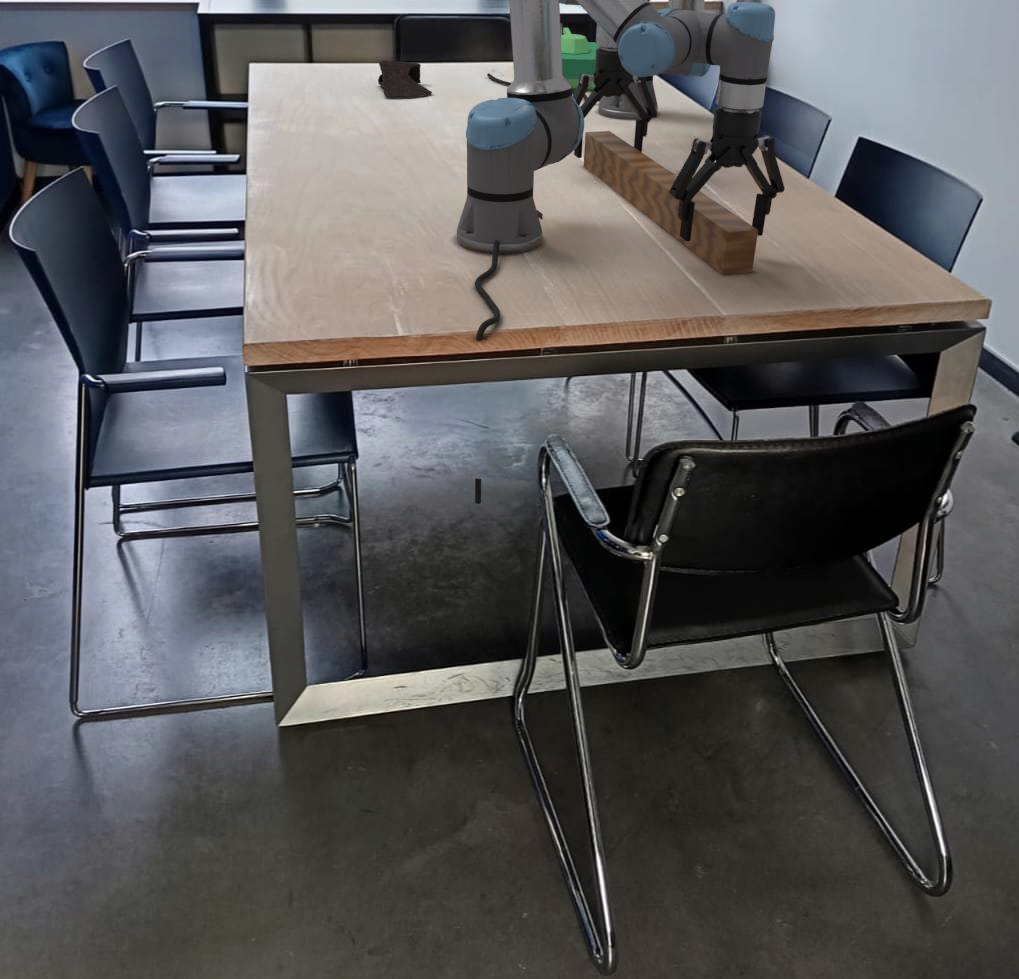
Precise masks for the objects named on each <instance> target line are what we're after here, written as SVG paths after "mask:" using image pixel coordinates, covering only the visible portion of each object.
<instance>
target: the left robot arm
mask: <svg viewBox="0 0 1019 979" xmlns="http://www.w3.org/2000/svg"><path fill="white" fill-rule="evenodd" d="M576 1H577V2H578V3H579V4H580V5H579V6H580V7H581V8H582V9H583V10H584V12H586V13H587V14H588V15H589V16H590V17H591V19H592V20H594V22H595V23H596V25H597V24H598V25H599V26H600V27H601V28H602V29H603V30H604V31H605V32H606V33H607V34H608V35H609V36H610V38H611V39H612V40H613V41H614V42H615V43H616V44H617V45H618V54H619V58H620V61H621V64H622V66H623V67H624V69H625V70H626V71H627V72H629V73H630V74H632V75H634V76H638V77H647V76H653V77H655V76H659V75H661V74H663V72H664V71H666V70H668V69H670V68H674V67H677V66H680V65H683V64H685V63H688V62H693V63H702V64H710V66H717V67H718V66H719V74H718V83H717V89H716V90H717V91H716V98H715V104H716V105H717V107H716V108H715V109H714V113H713V121H712V136H711V137H710V140H702V139H700V138H698V137H695V138H694V139H693V141H692V145H691V149H690V153H689V154H688V155H687V156H688V157H687V158H686V160H685V162H684V163H683V166H682V167H681V169H680V171H679V172H678V174H677V175H676V176H677V178H676V180H675V181H674V183H673V185H672V187H671V189H670V191H669V194H670V195H671V196H673V197H674V198H676V199H679V208H678V218H679V219H680V220H681V229H680V237H681V238H683V239H684V240H685V241H690V240H691V232H692V223H693V215H694V207H695V203H694V202H693V201H691V200H692V199H693V197H694V196H695V195H696V194H697V193H698V192H699V191H700V190H701V189H702V188H703V187H704V186H705V185H706V184H707V183H708V181H709V180H710V179H711V178H712V177H713V176H714V175H715V173H716V172H718V171H720V170H721V168H725V169H731V168H733V167H736V168H743V166H744V167H745V168H746V170H747V171H748V173H749V175H750V176H751V178H752V179H753V181H754V182H755V184H756V185H757V187H758V188H759V190H760V192H761V193H756V197H755V203H754V209H753V210H754V211H753V216H752V223H751V225H752V226H753V227H755V228H756V229H758V235H757V237H760V236H763V234H764V233H763V232H764V227H765V222H766V216H769V215H770V213H771V209H772V203H773V199H776V197H777V195H778V193H780V194H782V193H784V191H785V184H784V181H783V177H782V174H781V171H780V167H779V163H778V160H777V157H776V153H775V145H776V144H775V142H776V141H775V139H774V138H773V137H771V136H769V135H767V134H763V135H762V136H761V137H758V134H759V132H760V129H761V128H760V127H761V121H762V114H763V113H762V111H761V109H762V108H763V107H764V102H765V95H766V86H767V81H768V80H767V79H768V72H769V65H770V60H771V56H772V55H771V54H772V48H773V42H774V38H775V35H774V33H775V24H776V23H775V21H776V11H775V9H774V7H773V6H771V5H770V4H767V3H762V2H756V1H755V2H753V1H752V2H750V1H735V2H732V3H730V4H729V5H728V6H727V11H726V12H725V13H724V14H718V13H710V12H706V13H704V12H696V11H689V10H684V9H681V8H677V9H668V8H661V9H660V10H657V9H656V8H655V7H654V6H653V5H652V4H651V3H650V1H649V2H648V1H647V0H576ZM508 2H509V4H508V5H509V16H510V17H509V18H510V32H511V33H510V34H511V48H512V64H513V80H512V81H511V82H510V83H511V84H510V86H508V87H507V88H506V97H499V98H496V99H487V100H484V101H482V102H479V103H477V104H475V105H474V106H473V107H471V109H470V111H469V113H468V115H467V122H466V129H465V130H466V131H465V138H466V192H467V193H466V198H465V202H464V205H463V209H462V211H461V214H460V218H459V220H458V224H457V227H456V241H457V243H458V244H459V245H461V246H462V247H464V248H466V249H468V250H470V251H475V252H479V253H486V254H491V265H490V267H489V268H488V269H487V270H486V271H484V272H483V273H482V274H480V275H478V276H477V278H476V279H475V281H474V287H475V290H476V291H477V293H478V294H479V295H480V297H481V298H483V300H484V301H485V303H486V304H487V306H488V308H490V310H491V311H492V313H493V317H490V318H488V319H486V320H484V321H483V322H481V324H480V325H479V327H478V330H477V331H476V332H477V333H476V337H475V341H476V342H482V341H483V339H484V334H485V331H486V330H487V328H489V327H490V326H493V325H495V324H497V323H498V322H499V321H500V319H501V312H500V309H499V307H498V306H497V305H496V303H495V302H494V300H493V299H492V298H491V296H490V295H489V293H488V292H487V291H486V290H485V288H483V286H482V283H483V282H484V281H485V280H487V279H488V278H489V277H491V276H492V275H493V274H494V273H495V272H496V270H497V267H498V263H499V254H500V255H506V254H507V255H508V254H517V253H524V252H527V251H530V250H533V249H536V248H538V247H539V246H540V245H541V244H542V243H543V229H542V224H541V221H543V217H544V214H543V212H541V211H539V209H537V206H536V204H535V199H534V184H535V181H534V180H535V171H538V170H540V169H542V168H545V167H547V166H551V165H553V164H555V163H559V162H561V161H562V160H564V159H566V158H567V157H568V156H570V155H571V154H572V153H574V150H575V149H576V148H577V146H578V145H579V143H580V141H581V139H582V136H583V137H584V132H585V118H584V116H583V112H582V110H581V104H580V105H578V104H577V103H576V100H575V99H574V98H573V94H572V91H573V89H572V85H571V83H570V82H569V81H568V80H566V79H565V78H564V77H563V71H562V50H561V35H562V31H561V30H562V29H561V12H560V9H561V8H560V7H561V6H560V3H559V0H508ZM757 149H759V150H760V152H761V156H762V160H763V163H764V166H765V170H766V173H767V178H768V179H767V178H766V175H765V174H764V173H763V171H762V169H761V168H760V166H759V165H758V162H757V160H756V159H755V157H754V155H753V154H755V152H756V150H757ZM708 151H710V154H709V155H708V156H707V158H705V160H704V163H703V164H702V166H701V167H700V165H701V163H702V161H703V158H704V157H705V155H707V154H708ZM699 167H700V168H699ZM698 168H699V169H698ZM768 180H769V181H768ZM540 220H541V221H540ZM474 504H476V505H479V504H482V479H481V478H475V479H474Z"/></svg>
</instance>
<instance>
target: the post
mask: <svg viewBox="0 0 1019 979" xmlns="http://www.w3.org/2000/svg"><path fill="white" fill-rule="evenodd" d="M584 132H585V134H584V136H585V137H584V150H583V168H585V169H586V170H587V171H589V172H590V173H591V174H592V175H594V176H595V177H597V178H598V179H599V180H600V181H602V182H603V183H604V184H605V185H607V187H609V188H610V189H612V190H613V191H614V192H616V193H617V194H618V195H620V196H621V197H622V198H623V199H625V200H626V201H627V202H628V203H629V204H631V205H632V206H634V208H636V209H638V210H639V211H640V212H641V213H642V214H644V215H645V216H646V217H648V218H649V220H652V221H653V222H654V223H655V224H657V225H658V226H659V227H660V228H662V229H663V230H664V231H665V232H667V233H668V234H670V235H671V236H672V237H674V238H675V239H676V240H677V241H678V242H680V243H681V244H682V245H683V246H685V247H686V248H687V249H689V250H690V251H691V252H693V253H694V254H695V255H696V256H698V257H699V258H700V259H702V260H703V261H704V262H706V264H708V265H709V266H711V267H712V268H713V269H714V270H716V271H717V272H718V273H719V274H721V275H722V276H724V275H735V274H736V275H737V274H746V273H753V269H754V262H755V255H756V248H757V242H758V229H756V228H755V227H753V226H752V224H750V223H749V222H747V221H746V220H744V219H743V218H742V217H740V216H739V215H736V213H733V212H732V211H731V210H729V209H728V208H726V207H725V206H723V205H721V204H720V203H719V202H717V201H716V200H714V199H713V198H711V197H709V196H708V195H707V194H705V193H704V192H702V191H700V190H699V192H698V193H697V194H696V195H695V196H694V197H693V199H692V200H691V201H693V202H694V203H695V207H694V215H693V223H692V232H691V240H690V241H685V240H684V239H683V238H681V237H680V229H681V220H680V219H679V218H678V208H679V199H676V198H674V197H673V196H671V195H670V194H669V191H670V189H671V187H672V185H673V183H674V181H675V180H676V178H677V176H678V175H677V174H675V173H673V172H672V171H670V170H669V169H668V168H666V167H664V166H663V165H661V164H660V163H658V162H657V161H656V160H654V159H652V157H651V158H650V156H648V155H646V154H645V153H643V151H642V152H640V151H639V150H637V149H636V148H634V145H631V144H630V143H628V142H627V141H625V140H624V139H622V138H621V137H619V136H618V135H617V134H615V133H614V132H611V131H610V130H602V131H584Z"/></svg>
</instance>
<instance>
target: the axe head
mask: <svg viewBox="0 0 1019 979" xmlns="http://www.w3.org/2000/svg"><path fill="white" fill-rule="evenodd" d="M378 66H379V68H380V72H381V74H379V75H378V79H377V84H378V85H379V86H380V87H381V88H382V89H383V95H384V96H385V97H388V98H394V99H395V98H396V99H403V98H405V99H406V98H407V99H411V98H418V97H425V96H429V95H432V94H433V91H431V90H430V89H428V88H427V87H425V86H422V85H421V84H422V82H421V63H419V62H410V61H408V62H407V61H397V60H388V59H387V60H380V61H379V62H378Z"/></svg>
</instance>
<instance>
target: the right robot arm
mask: <svg viewBox="0 0 1019 979" xmlns="http://www.w3.org/2000/svg"><path fill="white" fill-rule="evenodd" d="M647 1H648V2H649V3H650V2H651V0H647ZM705 1H706V0H668V3H667V4H668V8H667V9H677V8H681V9H684V10H689V11H696V12H704V13H707V12H706V11H705ZM560 4H561V5H565V6H568V5H569V6H581V5H580V4H579V3H578V2H577V1H576V0H559V5H560ZM596 25H597V26H596V38H595V39H596V45H597V46H598V47H599V48H597V50H596V58H595V73H594V75H586V74H584V73H581V74H580V77H579V83H578V86H577V88H576V89H574V90H572V97H573V98H574V99H575V100H576V103H577V104H578V105H580V107H581V110H582V112H583V116H584V119H585V118H586V117H587V116H588V115H589V113H590V112H591V111H592V109H593V108H594V107H595V106H596V104H597V103H598V110H597V111H598V114H600V115H603V116H605V117H608V118H609V117H610V118H615V119H622V120H623V119H624V120H635V127H634V128H635V129H634V138H633V139H634V140H633V147H634V148H636V149H637V150H639V151H640V152H642V153H643V143H644V142H643V141H644V137H645V138H646V137H647V135H648V127H649V123H650V122H651V120H652V119H656V118H657V117H658V111H659V110H658V109H659V106H658V100H657V97H656V96H657V95H656V91H655V87H654V76H647V77H638V76H634V75H632V74H630V73H629V72H627V71H626V70H625V69H624V67H623V66H622V64H621V61H620V58H619V54H618V45H617V44H616V43H615V42H614V41H613V40H612V39H611V38H610V36H609V35H608V34H607V33H606V32H605V31H604V30H603V29H602V28H601V27H600V26H599V25H598V24H597V23H596ZM710 68H711V65H710V64H702V63H693V62H688V63H685V64H683V65H680V66H677V67H674V68H670V69H668V70H666V71H664V72H663V73H662V74H663V75H674V76H682V77H683V76H684V77H687V78H690V77H696V78H697V77H704V76H705V75H706V74H707V73H708V72H709V70H710ZM486 77H488V78H489V79H490V80H492V81H494V82H496V83H499V84H501V85H505V86H508V87H509V86H510V84H511V83H512V82H509V81H506V80H502V79H500V78H497V77H495V76H493V75H492V74H491V73H490V72H489V73H487V74H486ZM591 82H594V84H595V87H594V89H591V91H590V94H589V95H587V94H586V93H587V91H588V89H587V88H588V86H590V85H591ZM583 99H584V101H583ZM582 102H583V103H582ZM583 138H584V135H583V136H582V139H581V141H580V143H579V145H578V146H577V148H576V149H575V150H574V151H573V156H575V157H576V158H577V159H582V157H583V140H584V139H583Z"/></svg>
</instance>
